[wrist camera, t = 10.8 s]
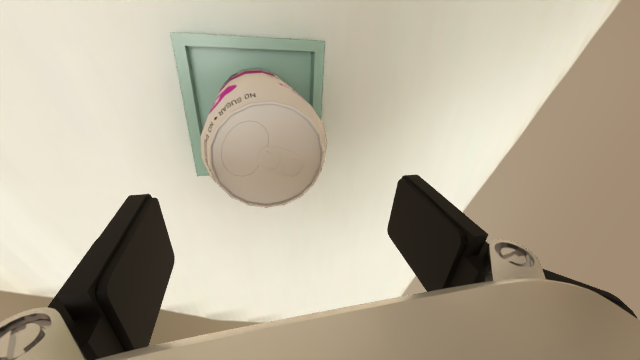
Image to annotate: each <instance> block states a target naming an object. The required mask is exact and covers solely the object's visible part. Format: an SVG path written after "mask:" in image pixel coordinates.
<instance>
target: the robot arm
mask: <svg viewBox="0 0 640 360" xmlns="http://www.w3.org/2000/svg"><path fill="white" fill-rule="evenodd" d="M387 230H388V235H389V237H390V238H391V240H392V241H393V243H394V244H395V246H396V247H397V248H398V250H399V251H400V253H401V254H402V256H403V257H404V259H405V260H406V262H407V263H408V264H409V266H410V267H411V269H412V270H413V272H414V273H415V275H416V276H417V277H418V279H419V280H420V282H421V283H422V285H423V286H424V288H425V289H426V290H427V292H424V293H419V294H413V295H408V296H402V297H397V298H391V299H386V300H381V301H375V302H370V303H365V304H360V305H354V306H349V307H344V308H339V309H333V310H328V311H323V312H318V313H312V314H307V315H302V316H297V317H292V318H287V319H281V320H276V321H271V322H266V323H261V324H257V325H251V326H246V327H241V328H236V329H231V330H226V331H221V332H216V333H210V334H206V335H200V336H196V337H191V338H187V339H182V340H177V341H172V342H167V343H163V344H158V345H153V346H149V347H148V345H149V342H150V339H151V336H152V333H153V329H154V326H155V323H156V320H157V317H158V313H159V310H160V307H161V304H162V301H163V298H164V294H165V291H166V288H167V285H168V282H169V278H170V275H171V272H172V269H173V266H174V253H173V249H172V246H171V242H170V239H169V236H168V232H167V229H166V225H165V222H164V219H163V215H162V212H161V208H160V205H159V202H158V199H157V198H152V197H151V195H149V194H143V195H131V196H129V197H128V198H127V199H126V200H125V202H124V203H123V205H122V206H121V207H120V209H119V210H118V212H117V213H116V214H115V216H114V217H113V219H112V220H111V221H110V223H109V224H108V226H107V227H106V228H105V230H104V231H103V233H102V234H101V235H100V237H99V238H98V239H97V240H96V241H95V242H94V244H93V245H92V246H91V248H90V249H89V251H88V252H87V253H86V255H85V256H84V257H83V259H82V260H81V262H80V263H79V264H78V266H77V267H76V269H75V270H74V271H73V273H72V274H71V275H70V277H69V278H68V280H67V281H66V282H65V284H64V285H63V287H62V288H61V289H60V291H59V292H58V293H57V295H56V296H55V298H54V299H53V300H52V302H51V303H50V304H49V306H48V307H43V308H34V309H31V310H27V311H24V312H21V313H19V314H16V315H14V316H12V317H10V318H8V319H6V320H4V321H2V322H1V323H0V360H640V321H639V320H638V319H637V317H636V315H635V314H634V313H633V311H632V310H631V309H630V308H628V307H627V305H625V304H624V303H623V302H622V301H621V300H620V299H619V298H617V297H616V296H614V295H612V294H611V293H609V292H606V291H603V290H600V289H597V288H595V287H592V286H589V285H586V284H583V283H581V282H578V281H575V280H572V279H570V278H567V277H564V276H561V275H558V274H555V273H553V272H550V271H547V270H544V269H542V266H541V264H540V261H539V259H538V258H537V257H536V256H535V255H534V254H533V253H532V252H531V251H530V250H528V249H527V248H525V247H523V246H522V245H519V244H517V243H514V242H512V241H508V240H500V239H497V240H493V241H492V242H490V244H488V243H487V242H486V238H487V236H488V234H487V233H486V232H485V231H484V230H482V229H481V228H480V227H479V226H478V225H476V224H475V223H474V222H473V221H472V220H470V219H469V218H468V217H467V216H466V215H465V214H463V213H462V212H461V211H460V210H459V209H458V208H456V207H455V206H454V205H453V204H452V203H450V202H449V201H448V200H447V199H446V198H445V197H443V196H442V195H441V194H440V193H439V192H437V191H436V190H435V189H434V188H433V187H431V186H430V185H429V184H428V183H427V182H426V181H424V180H423V179H422V178H421V177H420V176H418V175H405V176H403V177H402V178H401V179H400V180H399V181H398V184H397V189H396V193H395V197H394V202H393V206H392V211H391V215H390V220H389V224H388V229H387Z"/></svg>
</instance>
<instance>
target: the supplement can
mask: <svg viewBox="0 0 640 360" xmlns="http://www.w3.org/2000/svg"><path fill="white" fill-rule="evenodd" d="M200 138H201V153H202V160H203V162H204V164H205V166H206V168H207V171H208V173H209V175H210V177H211V178H212V179H213V180H214V181H215V182H216V183H217V184H218V185H219V186H220V187H221V188H222V189H223V190H224V191H225V192H226V193H227V194H228V195H229V196H230V197H231V198H234V199H236V200H238V201H240V202H242V203H245V204H247V205H250V206H258V207H266V208H268V207H273V206H279V205H285V204H287V203H289V202H291V201H293V200H295V199H297V198H299V197H301V196H302V195H303V194H304V193H305V192H306V191H307V190H308V189H309V188H310V187H312V186H313V185H314V183H315V181H316V179H317V177H318V175H319V173H320V172H321V170H322V165H323V163H324V160H325V153H326V147H327V141H326V136H325V131H324V126H323V123H322V122H321V120H320V118H319V117H318V115H317V114H316V112H315V111H314V109H313V107H312V106H311V105H310V104H309V103H308V102H307V101H306V100H304V99H303V98H302V97H301V96H300V95H299V94H298V93H297V92H296V91H295V90H294V89H293V88H291V87H290V86H289V85H288V84H287V83H286V82H285V81H284V80H282V79H281V78H280V77H278V76H277V75H276V74H274V73H273V72H270V71H267V70H264V69H260V68H253V69H244V70H242V71H239V72H237V73H235V74H233V75H231V76H230V78H229V79H228V80H227V81H226V82H225V83H224V84H223V85H222V87H221V89H220V91H219V94H218V96H217V98H216V100H215V102H214V104H213V106H212V108H211V111H210V113H209V115H208V117H207V120H206V123H205V126H204V129H203V131H202V134H201V137H200Z"/></svg>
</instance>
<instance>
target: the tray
mask: <svg viewBox="0 0 640 360" xmlns="http://www.w3.org/2000/svg"><path fill="white" fill-rule="evenodd" d="M170 35H171V40H172V45H173V51H174V56H175V61H176V66H177V72H178V77H179V82H180V88H181V93H182V98H183V103H184V109H185V114H186V119H187V125H188V130H189V135H190V140H191V146H192V151H193V156H194V162H195V167H196V172H197V176H207V175H209V173H208V171H207V168H206V166H205V164H204V162H203V160H202V153H201V138H200V137H201V134H202V131H203V129H204V126H205V123H206V120H207V117H208V115H209V113H210V111H211V108H212V106H213V104H214V102H215V100H216V98H217V96H218V94H219V91H220V89H221V87H222V85H223V84H224V83H225V82H226V81H227V80H228V79H229V78H230V76H231V75H233V74H235V73H237V72H239V71H242V70H244V69H253V68H260V69H264V70H267V71H270V72H273V73H274V74H276V75H277V76H278V77H280V78H281V79H282V80H284V81H285V82H286V83H287V84H288V85H289V86H290V87H291V88H293V89H294V90H295V91H296V92H297V93H298V94H299V95H300V96H301V97H302V98H303V99H304V100H306V101H307V102H308V103H309V104H310V105H311V106H312V107H313V109H314V111H315V112H316V114H317V115H318V117H319V118H320V120H321V111H322V90H323V70H324V49H325V41H318V40H300V39H282V38H264V37H246V36H228V35H210V34H193V33H175V32H170Z"/></svg>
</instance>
